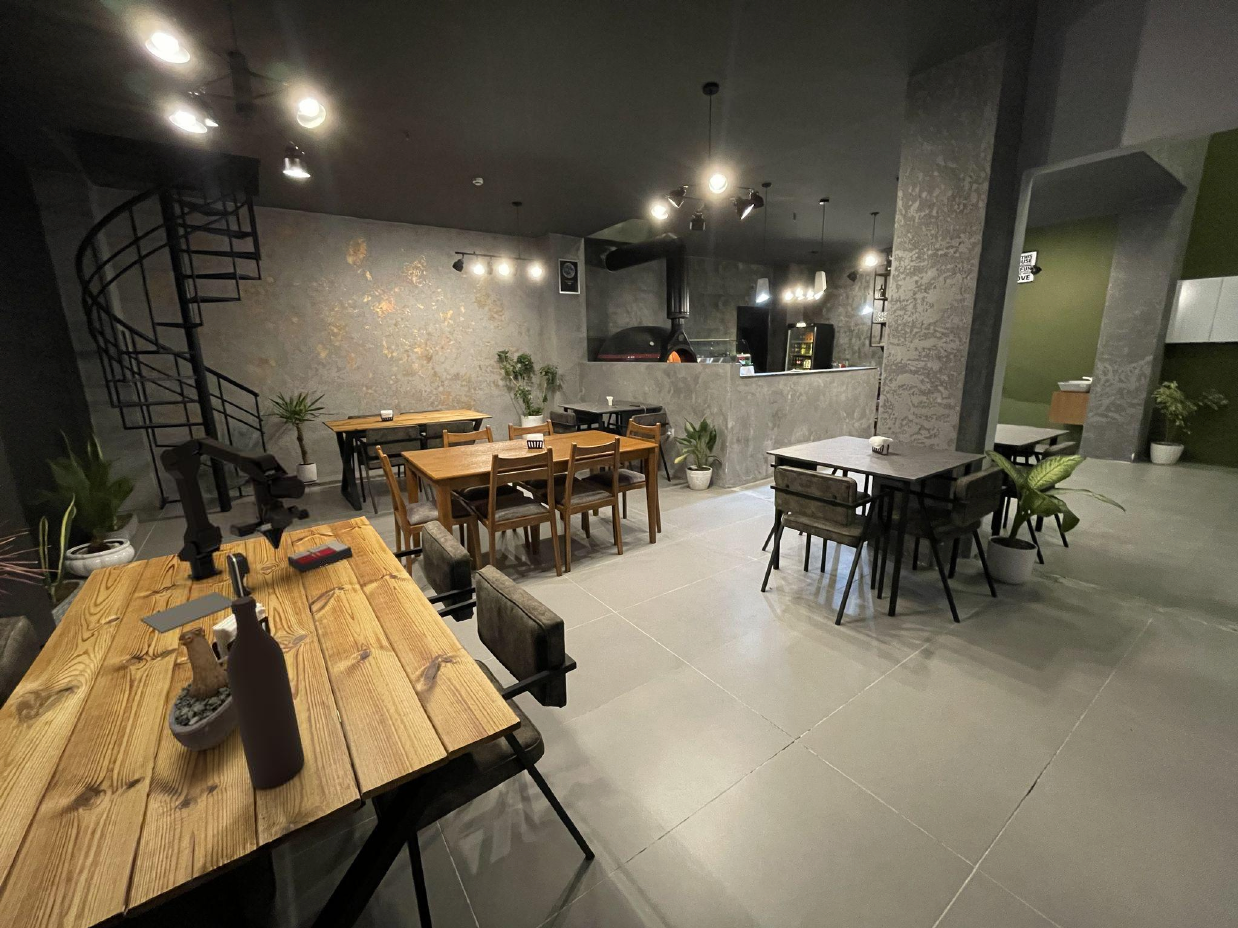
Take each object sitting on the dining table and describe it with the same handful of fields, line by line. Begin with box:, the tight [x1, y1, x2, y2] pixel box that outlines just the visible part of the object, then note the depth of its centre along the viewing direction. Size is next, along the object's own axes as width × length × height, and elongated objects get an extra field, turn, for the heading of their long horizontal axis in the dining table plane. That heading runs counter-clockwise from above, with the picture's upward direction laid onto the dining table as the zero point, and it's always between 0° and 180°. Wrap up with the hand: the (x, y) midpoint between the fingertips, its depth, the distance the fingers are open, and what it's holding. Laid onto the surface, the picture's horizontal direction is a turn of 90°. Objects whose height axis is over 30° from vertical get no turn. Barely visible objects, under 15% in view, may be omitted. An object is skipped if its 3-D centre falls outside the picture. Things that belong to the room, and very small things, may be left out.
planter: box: [167, 626, 238, 751], centre depth 85 cm, size 15×17×20 cm
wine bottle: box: [226, 595, 305, 791], centre depth 74 cm, size 7×7×30 cm
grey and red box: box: [287, 540, 354, 574], centre depth 158 cm, size 11×4×15 cm
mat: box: [140, 591, 235, 634], centre depth 128 cm, size 13×16×1 cm
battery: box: [225, 552, 252, 598], centre depth 137 cm, size 7×4×11 cm, turn 48°
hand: (276, 548), depth 144 cm, fingers closed
